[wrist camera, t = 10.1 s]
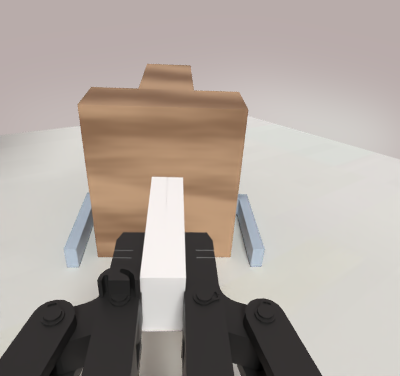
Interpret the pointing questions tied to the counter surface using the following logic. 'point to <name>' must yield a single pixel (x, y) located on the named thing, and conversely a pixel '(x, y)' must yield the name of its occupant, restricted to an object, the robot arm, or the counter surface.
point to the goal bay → (85, 223)
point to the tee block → (163, 153)
